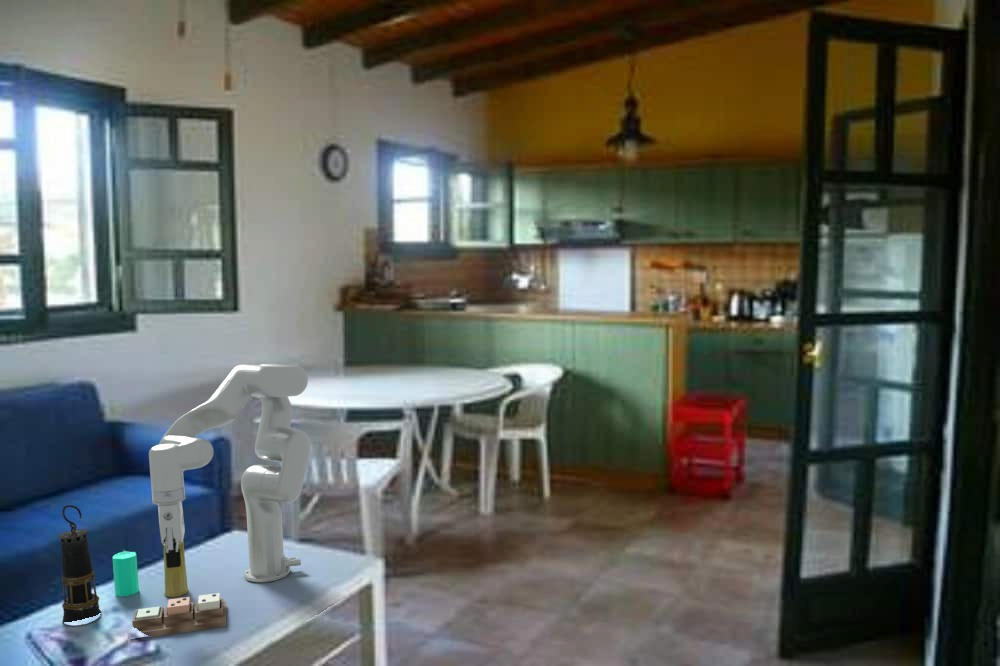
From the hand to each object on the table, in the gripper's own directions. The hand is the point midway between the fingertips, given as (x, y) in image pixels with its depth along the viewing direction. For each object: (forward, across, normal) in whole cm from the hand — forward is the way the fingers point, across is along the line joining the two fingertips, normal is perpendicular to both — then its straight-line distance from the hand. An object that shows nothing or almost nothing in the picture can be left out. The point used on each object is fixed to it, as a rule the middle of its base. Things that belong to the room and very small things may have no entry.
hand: (174, 566), depth 219 cm
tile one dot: (+13, 0, +7) cm, 15 cm away
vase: (+15, +20, +2) cm, 25 cm away
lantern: (+15, +10, +24) cm, 30 cm away
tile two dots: (+12, 0, -8) cm, 14 cm away
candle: (+15, +24, +15) cm, 32 cm away
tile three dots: (+12, 0, 0) cm, 12 cm away
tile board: (+15, 0, 0) cm, 15 cm away
